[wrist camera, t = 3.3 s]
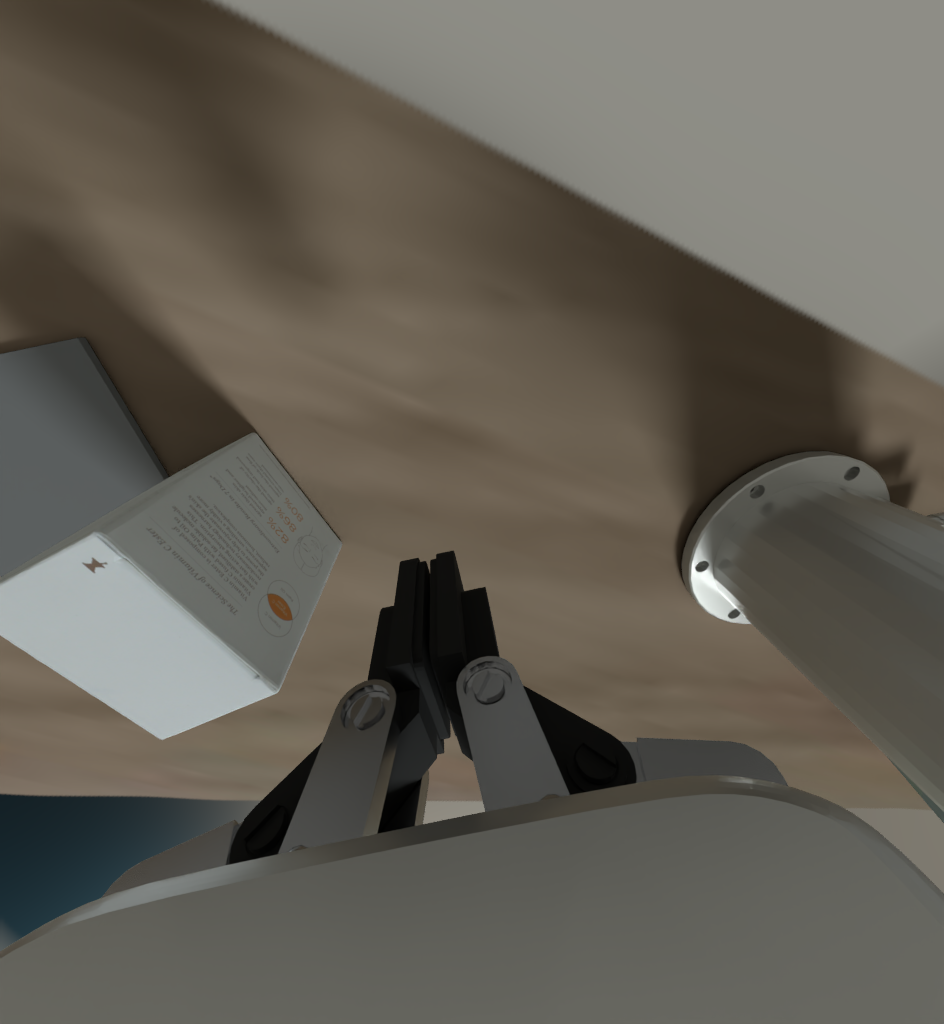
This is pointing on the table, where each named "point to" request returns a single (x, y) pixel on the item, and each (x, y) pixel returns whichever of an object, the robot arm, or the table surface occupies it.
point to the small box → (180, 592)
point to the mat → (63, 448)
